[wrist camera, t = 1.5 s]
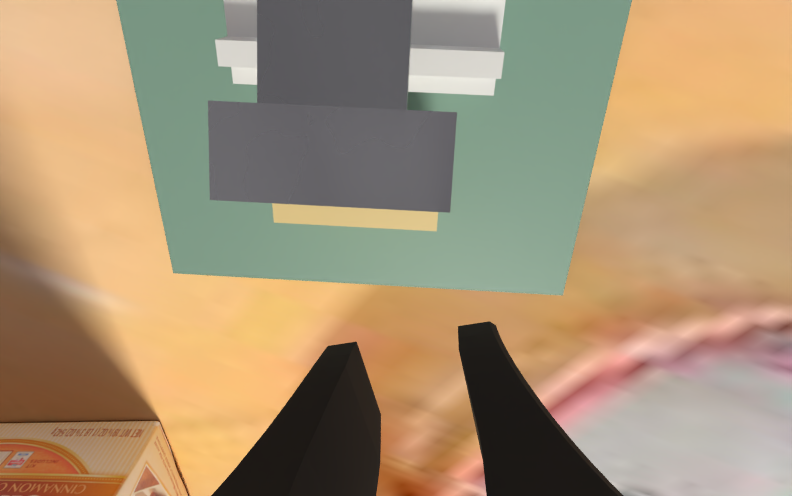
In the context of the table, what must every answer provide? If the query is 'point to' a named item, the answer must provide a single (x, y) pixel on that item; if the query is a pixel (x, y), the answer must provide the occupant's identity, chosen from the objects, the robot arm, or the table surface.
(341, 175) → the grey flat bar
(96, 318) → the table surface
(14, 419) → the table surface
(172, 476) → the coffeecake box
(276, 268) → the board
